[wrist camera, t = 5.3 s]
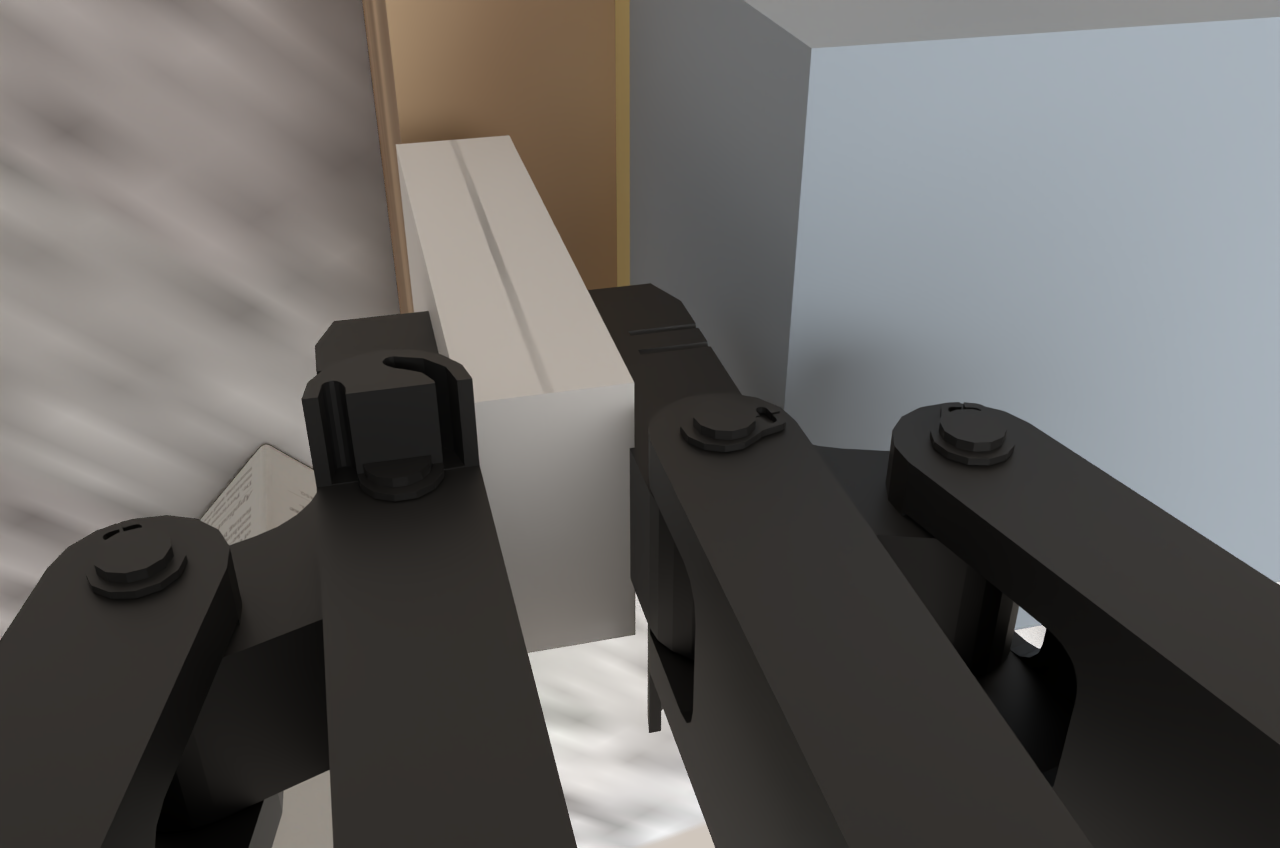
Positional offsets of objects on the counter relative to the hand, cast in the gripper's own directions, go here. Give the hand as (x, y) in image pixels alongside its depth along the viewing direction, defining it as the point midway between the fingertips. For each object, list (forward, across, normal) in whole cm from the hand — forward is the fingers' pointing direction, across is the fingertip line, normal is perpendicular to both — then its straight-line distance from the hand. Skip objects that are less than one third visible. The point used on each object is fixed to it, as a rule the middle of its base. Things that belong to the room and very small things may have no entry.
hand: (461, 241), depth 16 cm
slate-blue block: (+2, +6, 0) cm, 6 cm away
